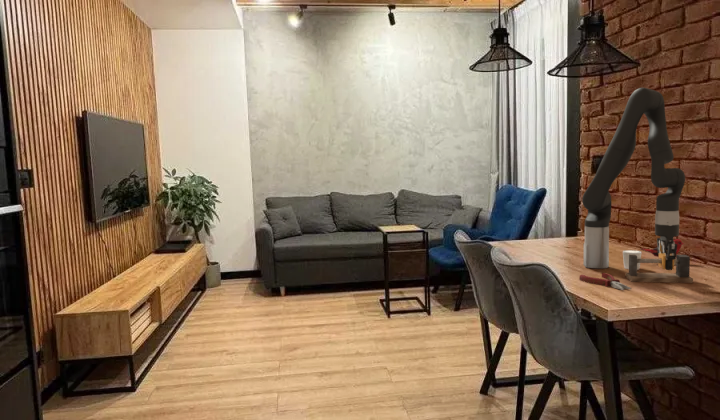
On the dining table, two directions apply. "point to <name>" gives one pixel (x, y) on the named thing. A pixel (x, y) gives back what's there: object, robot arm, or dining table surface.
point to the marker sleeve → (663, 261)
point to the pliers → (605, 281)
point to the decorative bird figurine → (655, 250)
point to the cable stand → (680, 275)
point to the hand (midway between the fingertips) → (666, 267)
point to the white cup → (626, 257)
